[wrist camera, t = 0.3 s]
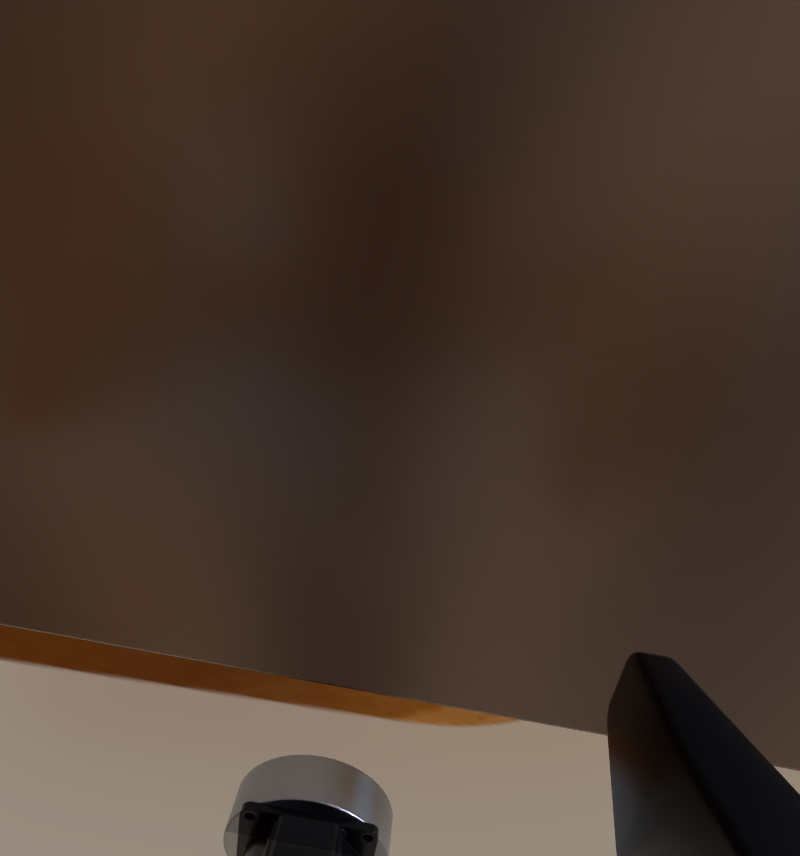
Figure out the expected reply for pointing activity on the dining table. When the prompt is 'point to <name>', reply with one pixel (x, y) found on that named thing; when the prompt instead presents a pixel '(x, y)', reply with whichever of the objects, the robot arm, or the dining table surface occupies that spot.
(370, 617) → the cabinet
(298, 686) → the dining table surface
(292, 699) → the dining table surface
